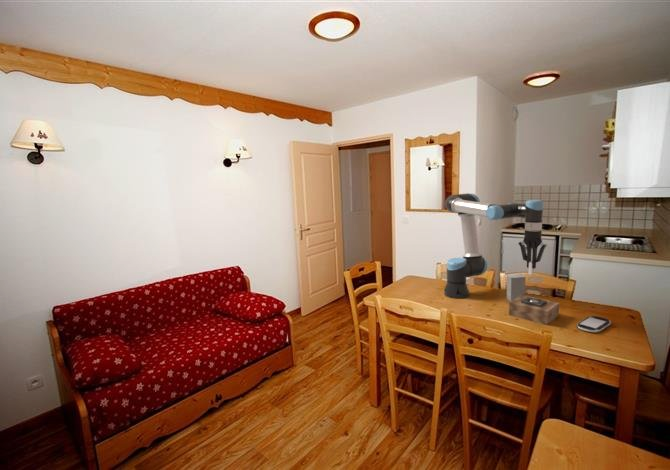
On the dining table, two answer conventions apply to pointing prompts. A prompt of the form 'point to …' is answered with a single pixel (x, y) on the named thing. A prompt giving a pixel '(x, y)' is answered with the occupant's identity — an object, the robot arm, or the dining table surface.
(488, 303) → the dining table surface
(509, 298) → the skincare box
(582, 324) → the gaming console
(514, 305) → the socket block
